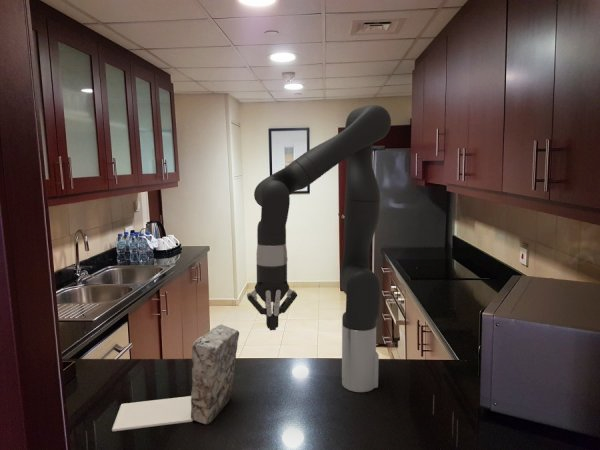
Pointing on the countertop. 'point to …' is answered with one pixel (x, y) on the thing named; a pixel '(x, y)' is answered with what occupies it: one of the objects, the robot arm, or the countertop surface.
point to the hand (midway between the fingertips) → (272, 329)
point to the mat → (153, 413)
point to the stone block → (212, 372)
